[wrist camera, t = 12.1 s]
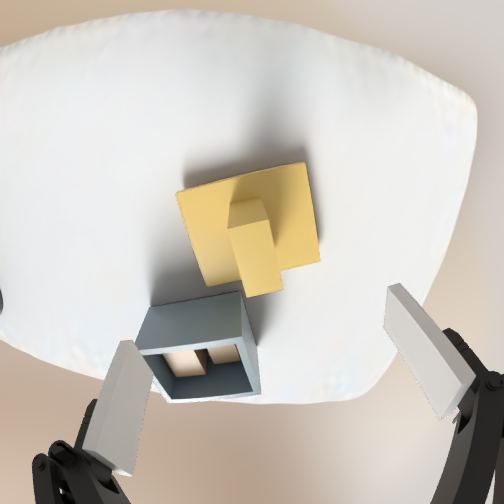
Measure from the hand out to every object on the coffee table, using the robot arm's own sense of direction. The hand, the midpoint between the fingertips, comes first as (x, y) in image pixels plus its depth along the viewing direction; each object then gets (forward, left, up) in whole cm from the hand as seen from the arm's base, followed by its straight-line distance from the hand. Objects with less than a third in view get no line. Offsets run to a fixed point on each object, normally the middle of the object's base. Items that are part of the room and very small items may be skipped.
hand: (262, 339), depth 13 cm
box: (-9, -13, -18) cm, 24 cm away
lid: (0, 0, -17) cm, 17 cm away
